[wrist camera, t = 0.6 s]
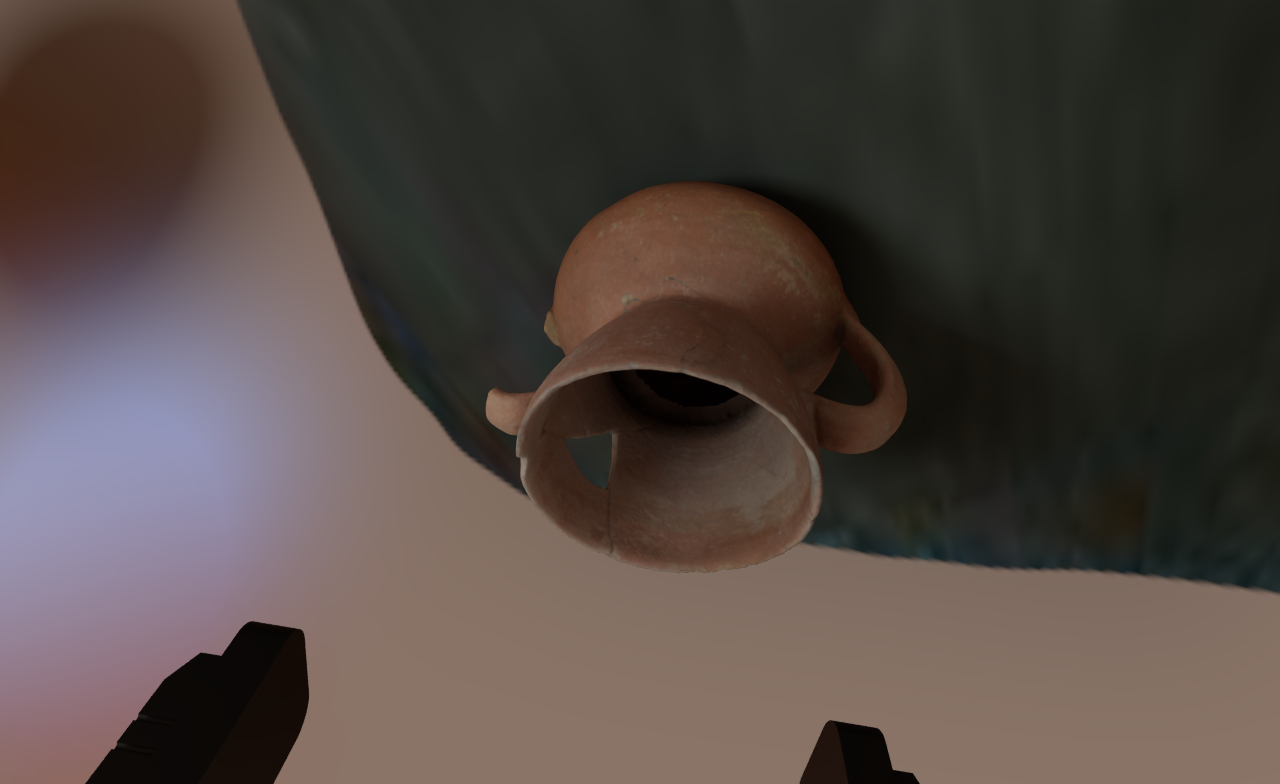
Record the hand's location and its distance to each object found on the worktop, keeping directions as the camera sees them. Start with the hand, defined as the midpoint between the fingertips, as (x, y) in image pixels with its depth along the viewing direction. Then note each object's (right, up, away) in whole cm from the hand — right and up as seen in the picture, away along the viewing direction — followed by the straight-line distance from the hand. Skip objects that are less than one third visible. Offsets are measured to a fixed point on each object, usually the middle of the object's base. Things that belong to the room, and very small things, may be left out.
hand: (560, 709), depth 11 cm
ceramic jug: (+5, +10, +28) cm, 31 cm away
